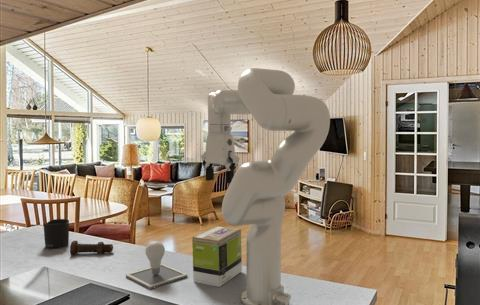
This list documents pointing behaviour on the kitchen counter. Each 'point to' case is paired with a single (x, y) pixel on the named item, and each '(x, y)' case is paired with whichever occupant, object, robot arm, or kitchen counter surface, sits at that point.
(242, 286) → the kitchen counter surface
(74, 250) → the bolt
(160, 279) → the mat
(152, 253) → the lightbulb
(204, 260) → the tea box
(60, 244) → the pen holder
